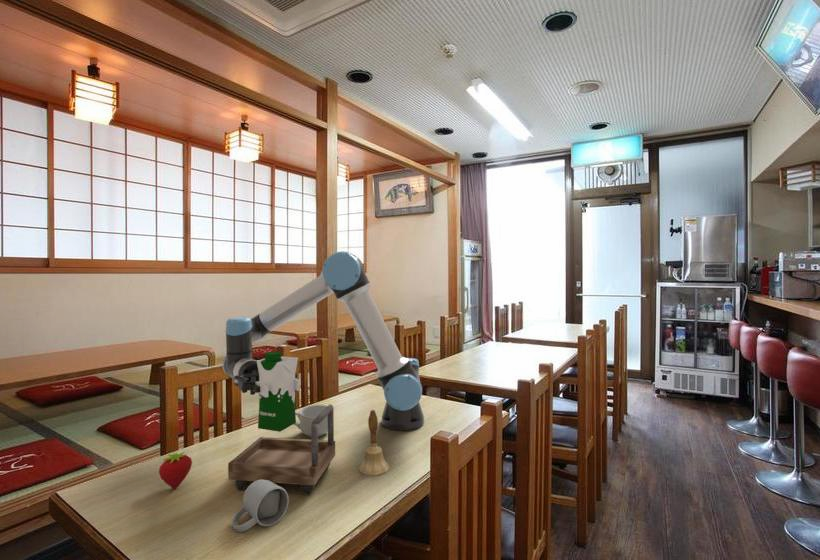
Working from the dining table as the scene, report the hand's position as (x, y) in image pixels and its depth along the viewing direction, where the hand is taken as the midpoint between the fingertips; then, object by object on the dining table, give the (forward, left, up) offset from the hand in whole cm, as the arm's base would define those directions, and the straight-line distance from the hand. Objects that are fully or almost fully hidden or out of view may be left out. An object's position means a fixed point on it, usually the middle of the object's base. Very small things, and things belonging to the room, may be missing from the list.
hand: (283, 388), depth 105 cm
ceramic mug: (-2, +17, -24) cm, 30 cm away
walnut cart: (0, -1, -24) cm, 24 cm away
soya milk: (+3, -3, -11) cm, 12 cm away
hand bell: (-22, -9, -24) cm, 34 cm away
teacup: (+4, -30, -24) cm, 38 cm away
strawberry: (+25, +7, -24) cm, 35 cm away
